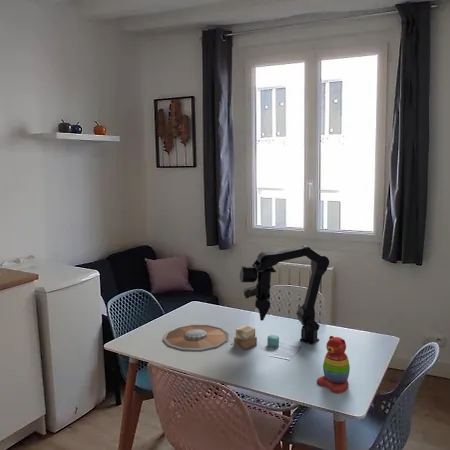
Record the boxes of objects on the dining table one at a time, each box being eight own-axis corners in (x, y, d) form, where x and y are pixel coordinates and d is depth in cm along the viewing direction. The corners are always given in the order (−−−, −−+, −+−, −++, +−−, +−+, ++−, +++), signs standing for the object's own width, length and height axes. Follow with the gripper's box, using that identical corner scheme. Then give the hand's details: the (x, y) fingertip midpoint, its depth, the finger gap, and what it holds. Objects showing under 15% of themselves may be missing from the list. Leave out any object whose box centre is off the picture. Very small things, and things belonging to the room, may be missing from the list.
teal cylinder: (281, 346, 208) (281, 337, 207) (274, 349, 204) (274, 340, 204) (272, 342, 211) (272, 334, 211) (265, 346, 208) (265, 337, 207)
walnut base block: (256, 346, 208) (256, 337, 208) (246, 350, 203) (246, 341, 203) (244, 341, 213) (244, 333, 212) (234, 346, 208) (234, 337, 208)
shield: (179, 317, 235) (237, 324, 226) (179, 323, 236) (237, 330, 226) (150, 340, 207) (215, 349, 198) (151, 347, 208) (216, 356, 198)
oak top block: (255, 337, 208) (255, 328, 207) (246, 341, 203) (246, 332, 203) (244, 333, 212) (245, 325, 211) (235, 337, 207) (235, 328, 207)
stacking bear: (314, 382, 174) (315, 336, 172) (333, 375, 180) (334, 330, 178) (336, 394, 166) (338, 346, 163) (356, 386, 171) (358, 339, 169)
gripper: (246, 275, 215) (244, 309, 217) (244, 286, 196) (242, 322, 198) (271, 277, 214) (269, 310, 216) (271, 288, 195) (269, 324, 197)
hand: (262, 316), depth 207 cm, fingers open, 9 cm apart
